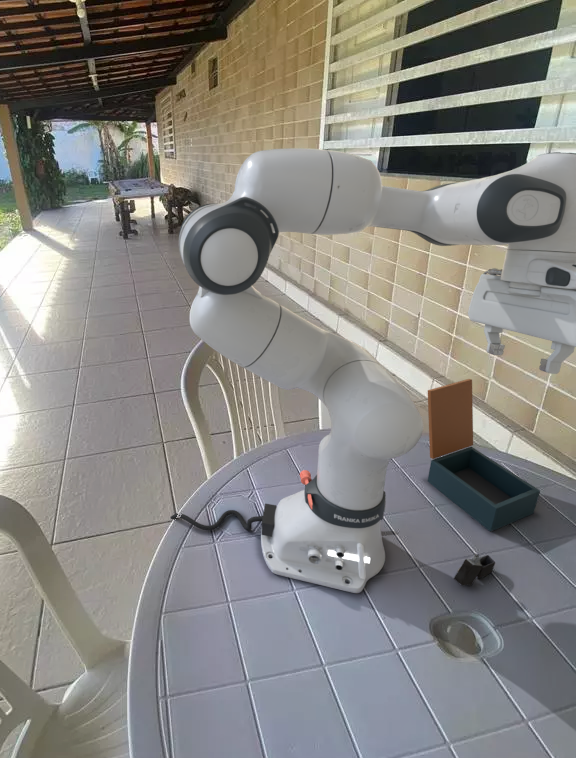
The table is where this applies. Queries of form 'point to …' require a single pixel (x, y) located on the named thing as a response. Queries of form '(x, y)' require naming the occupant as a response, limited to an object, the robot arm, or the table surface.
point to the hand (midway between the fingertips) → (519, 362)
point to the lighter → (474, 569)
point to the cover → (450, 418)
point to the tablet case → (474, 501)
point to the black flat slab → (482, 486)
